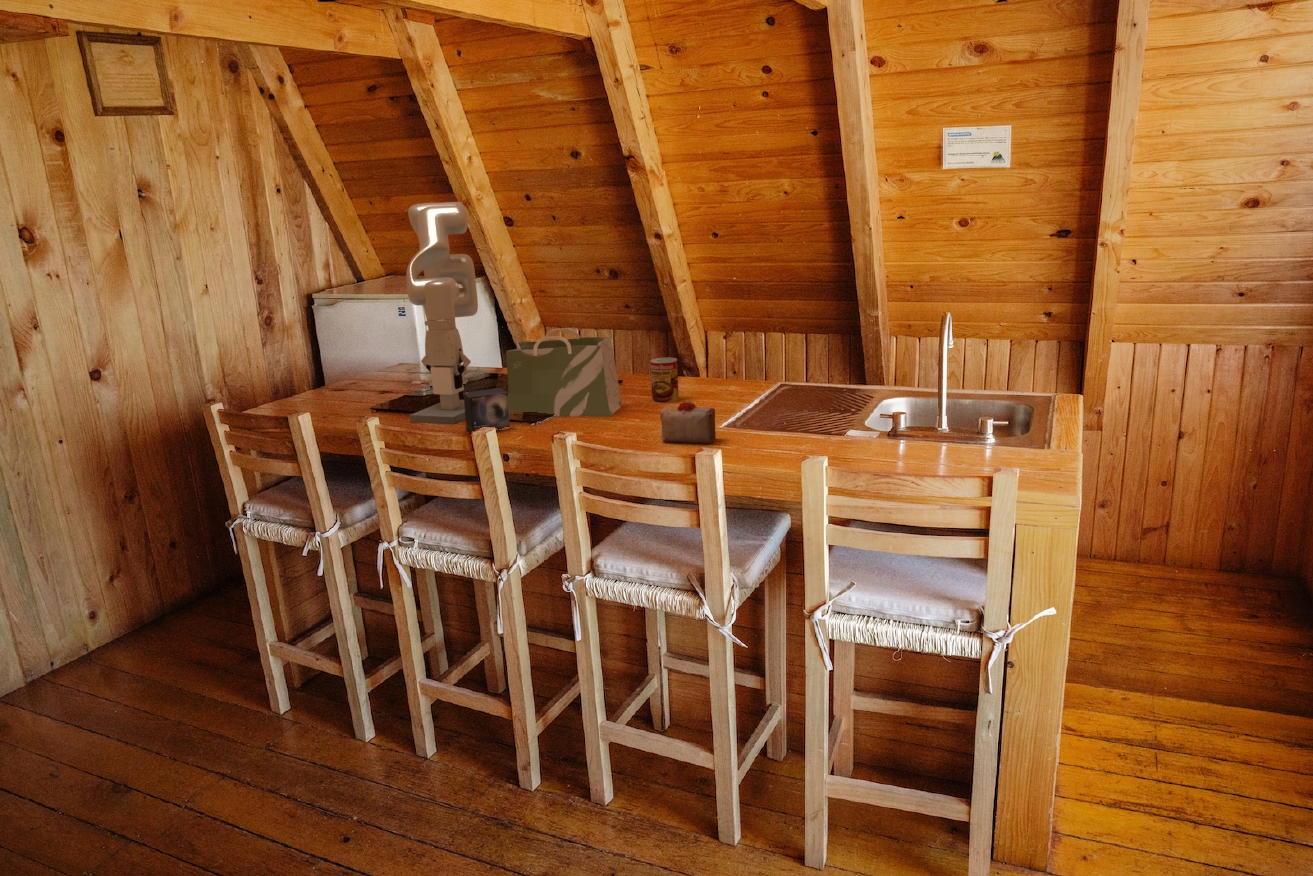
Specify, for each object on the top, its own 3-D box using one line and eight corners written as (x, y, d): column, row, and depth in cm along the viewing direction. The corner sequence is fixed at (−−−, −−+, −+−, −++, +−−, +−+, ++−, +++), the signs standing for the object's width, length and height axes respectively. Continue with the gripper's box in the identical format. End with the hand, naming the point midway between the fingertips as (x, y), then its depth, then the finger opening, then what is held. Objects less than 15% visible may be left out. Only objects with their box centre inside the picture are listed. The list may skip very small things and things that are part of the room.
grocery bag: (502, 415, 270) (495, 334, 264) (520, 404, 283) (513, 327, 277) (610, 417, 262) (605, 334, 256) (623, 406, 275) (619, 326, 269)
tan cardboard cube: (445, 389, 275) (442, 363, 273) (463, 390, 273) (461, 364, 271) (433, 394, 270) (430, 367, 268) (452, 394, 268) (449, 368, 266)
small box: (472, 435, 249) (469, 396, 246) (465, 430, 255) (461, 392, 252) (511, 429, 254) (507, 391, 251) (503, 424, 259) (500, 387, 257)
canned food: (647, 402, 277) (645, 362, 274) (657, 396, 284) (656, 357, 281) (672, 403, 274) (671, 362, 271) (682, 397, 281) (681, 357, 278)
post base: (448, 405, 285) (445, 379, 283) (489, 407, 280) (487, 380, 278) (410, 422, 267) (407, 394, 265) (454, 424, 262) (451, 395, 260)
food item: (657, 444, 233) (655, 404, 231) (666, 435, 241) (664, 397, 238) (711, 446, 229) (709, 406, 227) (718, 437, 237) (717, 398, 234)
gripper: (408, 326, 266) (415, 389, 271) (461, 327, 260) (468, 391, 265) (422, 323, 273) (429, 384, 278) (475, 323, 267) (481, 385, 272)
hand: (448, 387), depth 271 cm, fingers closed on tan cardboard cube, 6 cm apart
